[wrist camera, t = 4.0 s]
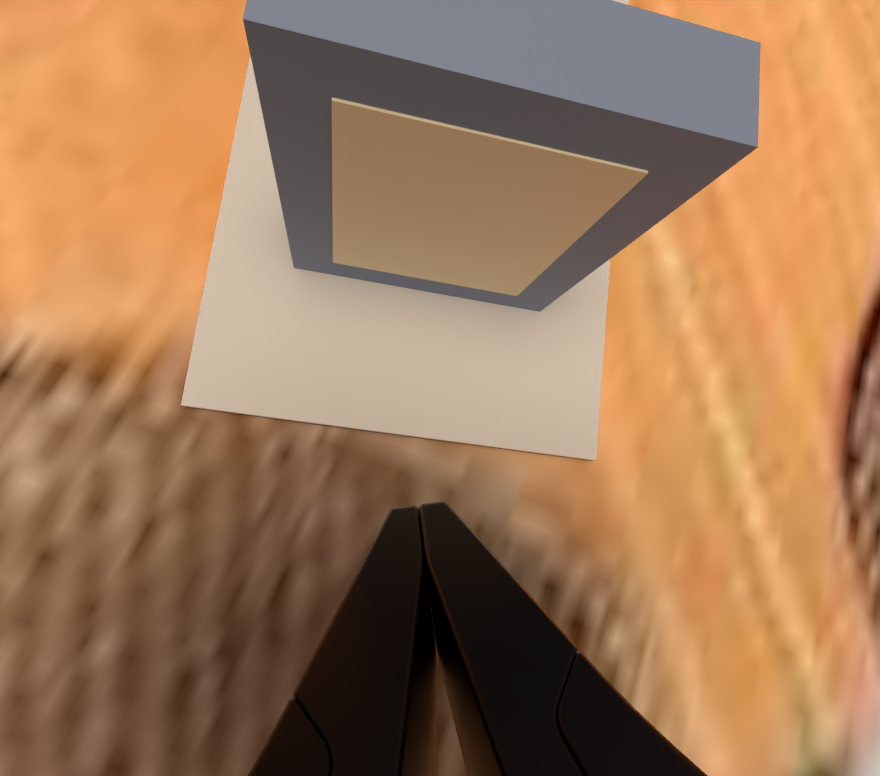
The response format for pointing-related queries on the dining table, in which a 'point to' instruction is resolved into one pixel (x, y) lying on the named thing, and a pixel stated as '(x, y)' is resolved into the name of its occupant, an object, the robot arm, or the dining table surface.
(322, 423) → the mat
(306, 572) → the dining table surface
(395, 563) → the robot arm
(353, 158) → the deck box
